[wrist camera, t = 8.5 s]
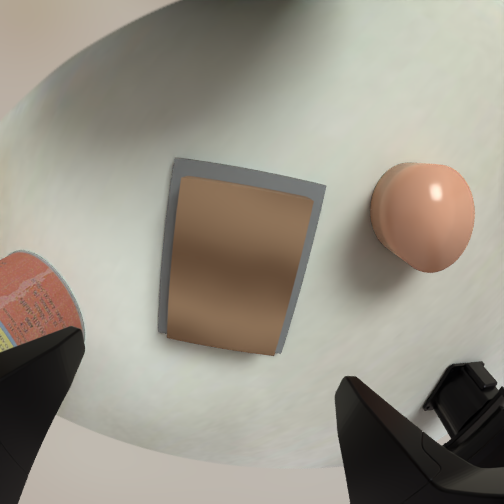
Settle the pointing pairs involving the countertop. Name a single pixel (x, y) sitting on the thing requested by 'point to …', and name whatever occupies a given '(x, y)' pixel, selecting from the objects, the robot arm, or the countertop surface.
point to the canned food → (33, 300)
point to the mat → (247, 178)
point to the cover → (234, 263)
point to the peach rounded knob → (423, 214)
